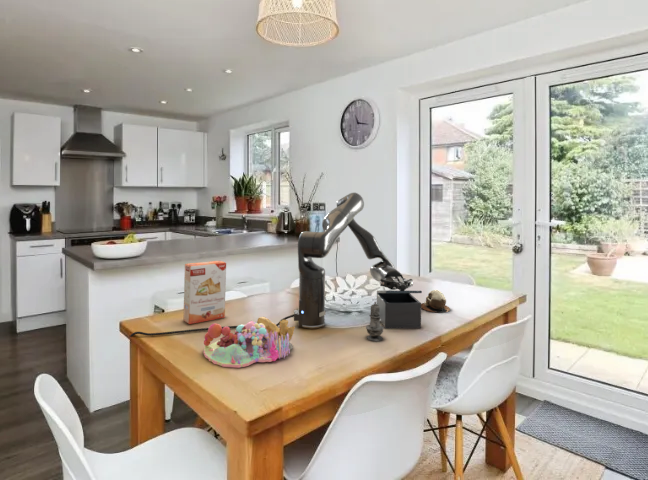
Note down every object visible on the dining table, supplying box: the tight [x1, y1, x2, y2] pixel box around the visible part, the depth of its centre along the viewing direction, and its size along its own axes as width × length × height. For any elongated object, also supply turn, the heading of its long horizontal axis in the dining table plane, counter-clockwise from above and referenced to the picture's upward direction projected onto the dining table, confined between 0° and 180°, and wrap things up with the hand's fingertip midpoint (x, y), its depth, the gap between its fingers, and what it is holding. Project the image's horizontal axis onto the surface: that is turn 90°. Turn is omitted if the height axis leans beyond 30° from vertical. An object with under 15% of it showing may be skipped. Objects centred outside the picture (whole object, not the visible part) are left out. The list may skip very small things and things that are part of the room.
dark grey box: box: [376, 292, 422, 329], centre depth 152 cm, size 15×13×9 cm
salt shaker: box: [365, 301, 385, 342], centre depth 134 cm, size 6×6×12 cm
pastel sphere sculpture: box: [203, 316, 296, 369], centre depth 122 cm, size 25×24×9 cm
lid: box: [376, 290, 423, 294], centre depth 151 cm, size 16×13×1 cm
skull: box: [421, 289, 451, 314], centre depth 170 cm, size 12×10×10 cm
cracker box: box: [182, 260, 227, 325], centre depth 151 cm, size 14×6×21 cm, turn 129°
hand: (402, 288), depth 145 cm, fingers closed
